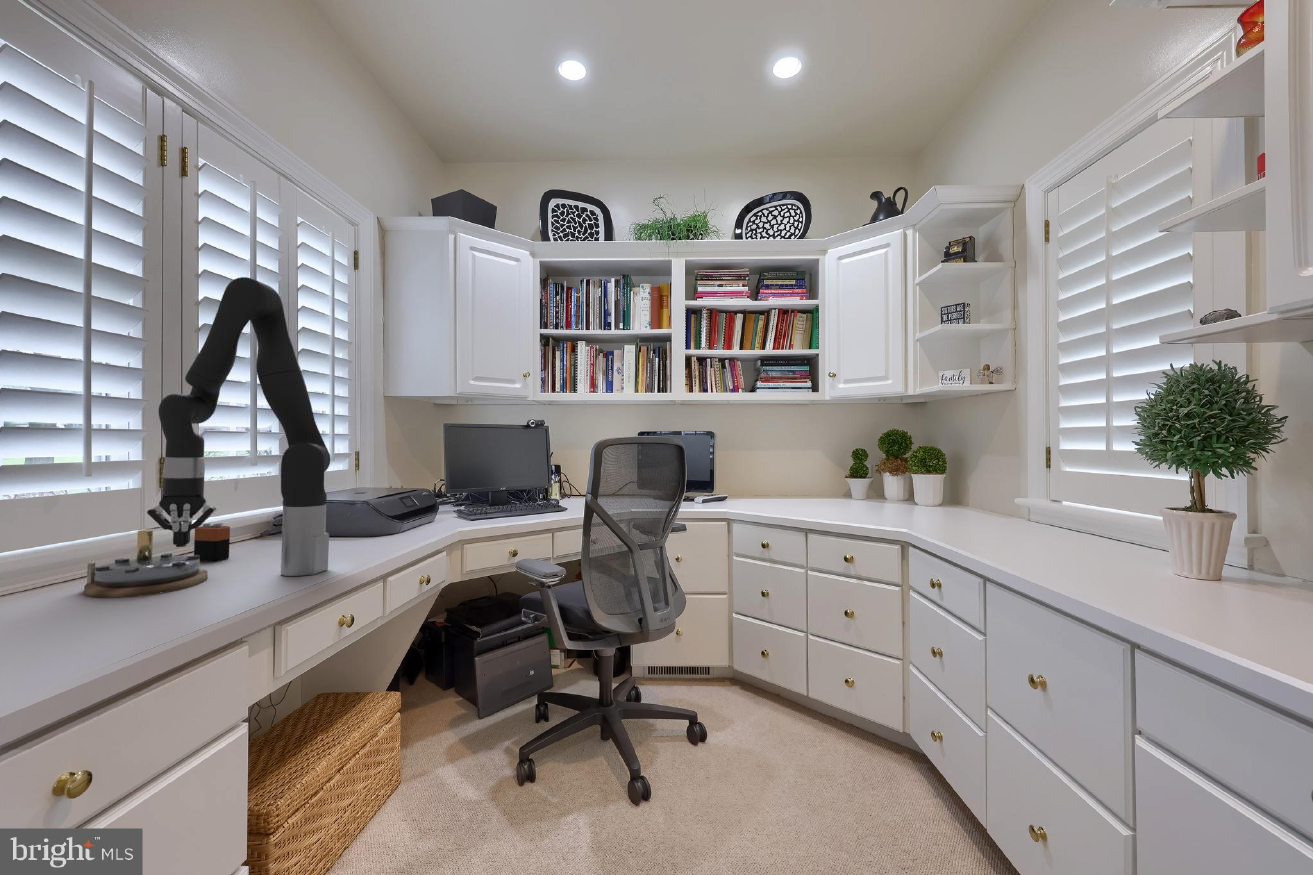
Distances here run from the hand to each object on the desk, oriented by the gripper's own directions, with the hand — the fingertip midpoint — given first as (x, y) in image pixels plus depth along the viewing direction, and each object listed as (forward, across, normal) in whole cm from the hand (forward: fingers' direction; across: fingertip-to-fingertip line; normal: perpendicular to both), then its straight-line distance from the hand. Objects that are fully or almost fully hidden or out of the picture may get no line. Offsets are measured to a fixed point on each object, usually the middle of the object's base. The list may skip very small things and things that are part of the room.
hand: (181, 546), depth 126 cm
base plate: (+7, +3, +8) cm, 11 cm away
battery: (+7, -2, -17) cm, 19 cm away
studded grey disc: (+5, +3, +8) cm, 10 cm away
